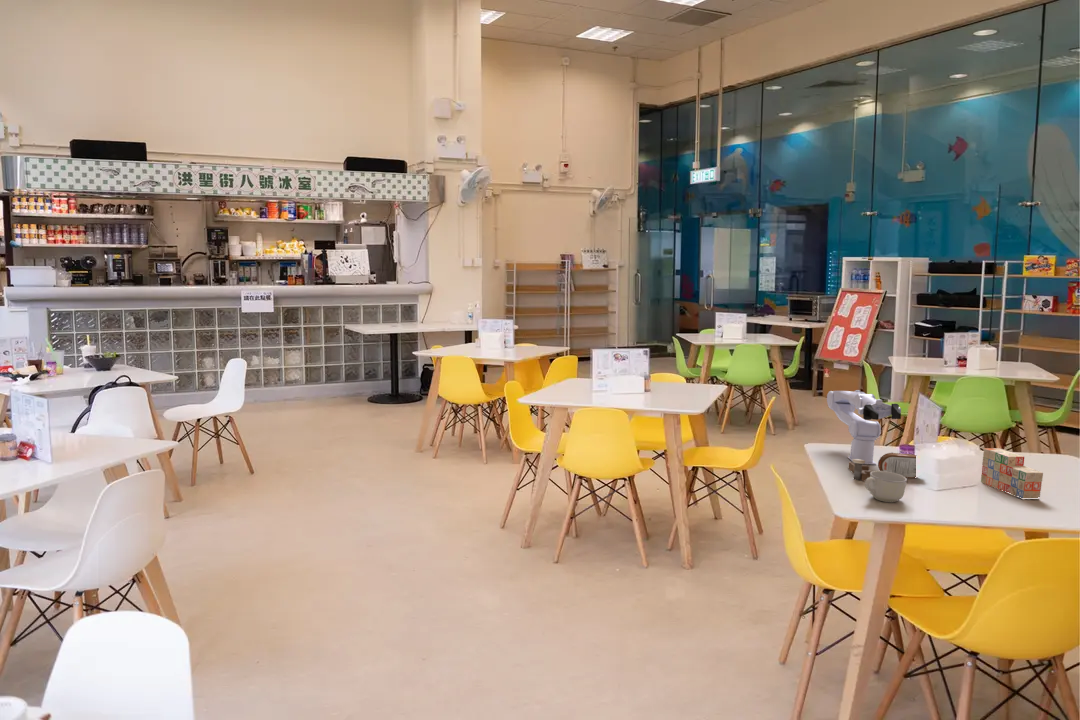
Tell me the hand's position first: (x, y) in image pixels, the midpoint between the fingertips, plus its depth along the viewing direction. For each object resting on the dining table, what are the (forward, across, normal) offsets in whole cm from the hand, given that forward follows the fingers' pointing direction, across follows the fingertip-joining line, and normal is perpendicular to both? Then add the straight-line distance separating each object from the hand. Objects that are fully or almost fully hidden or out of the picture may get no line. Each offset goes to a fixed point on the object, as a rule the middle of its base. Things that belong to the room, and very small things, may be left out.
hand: (888, 416), depth 283 cm
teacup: (+30, -14, +19) cm, 38 cm away
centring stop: (+1, -10, +21) cm, 23 cm away
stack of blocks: (+14, +36, +24) cm, 45 cm away
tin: (+2, +4, +22) cm, 22 cm away
